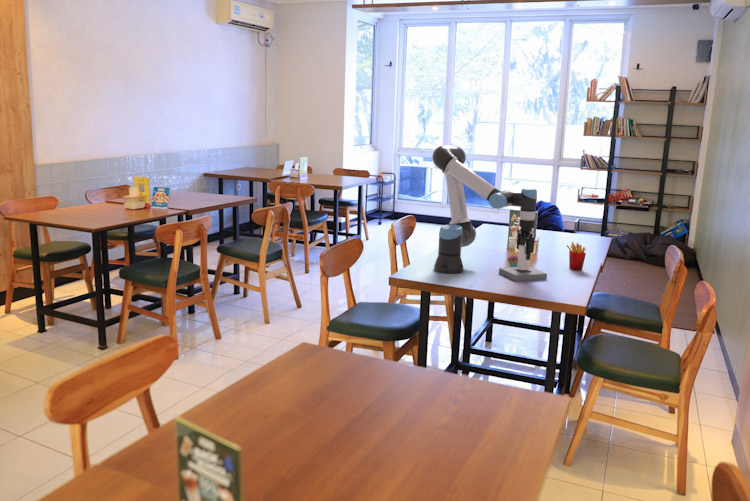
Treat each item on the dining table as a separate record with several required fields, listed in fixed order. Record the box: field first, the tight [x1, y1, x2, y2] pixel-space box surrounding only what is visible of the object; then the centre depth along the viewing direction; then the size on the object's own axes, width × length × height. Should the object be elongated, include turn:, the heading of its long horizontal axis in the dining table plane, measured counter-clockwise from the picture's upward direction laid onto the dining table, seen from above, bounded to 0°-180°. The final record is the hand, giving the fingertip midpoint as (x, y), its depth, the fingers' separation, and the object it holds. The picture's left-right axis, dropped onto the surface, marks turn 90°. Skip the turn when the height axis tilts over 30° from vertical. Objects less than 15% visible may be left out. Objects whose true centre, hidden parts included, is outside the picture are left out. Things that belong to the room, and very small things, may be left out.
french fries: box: [566, 241, 587, 272], centre depth 343 cm, size 9×8×15 cm
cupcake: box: [507, 246, 518, 267], centre depth 342 cm, size 9×8×12 cm
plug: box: [517, 244, 532, 270], centre depth 324 cm, size 4×4×12 cm
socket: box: [498, 266, 548, 282], centre depth 326 cm, size 18×16×3 cm
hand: (523, 264), depth 325 cm, fingers closed on plug, 4 cm apart
